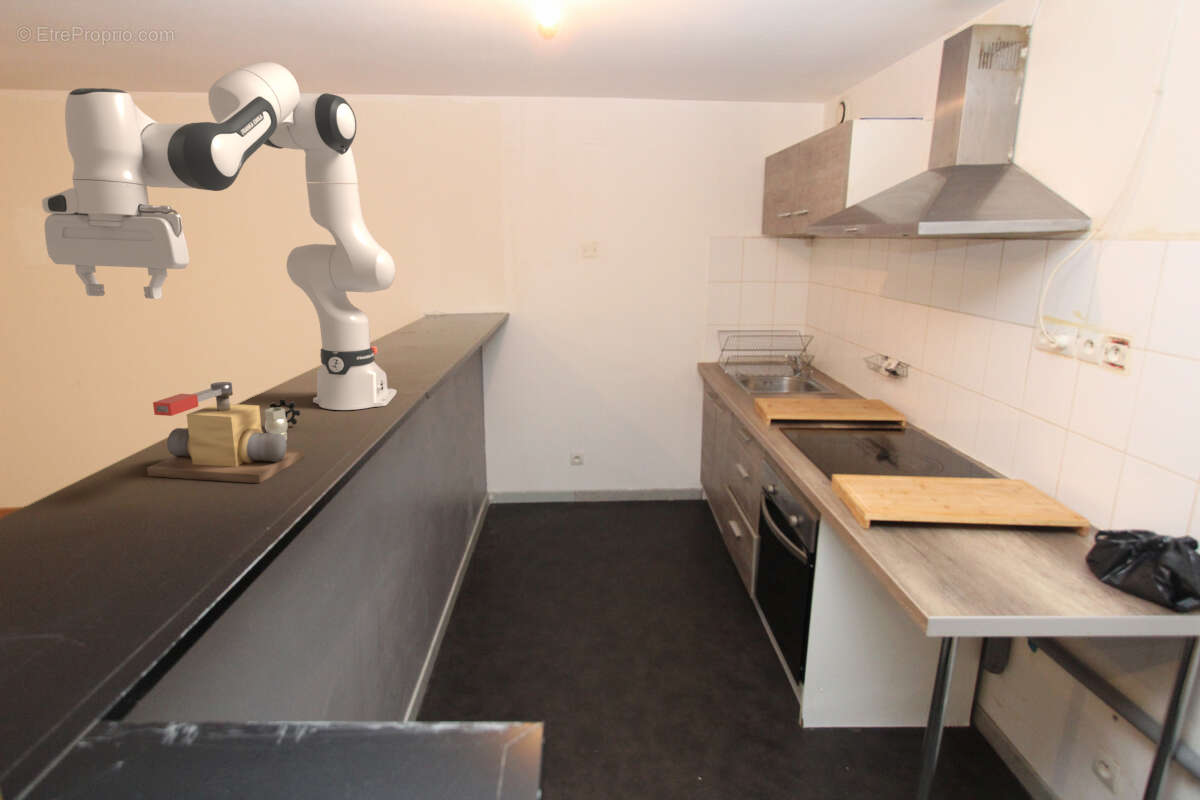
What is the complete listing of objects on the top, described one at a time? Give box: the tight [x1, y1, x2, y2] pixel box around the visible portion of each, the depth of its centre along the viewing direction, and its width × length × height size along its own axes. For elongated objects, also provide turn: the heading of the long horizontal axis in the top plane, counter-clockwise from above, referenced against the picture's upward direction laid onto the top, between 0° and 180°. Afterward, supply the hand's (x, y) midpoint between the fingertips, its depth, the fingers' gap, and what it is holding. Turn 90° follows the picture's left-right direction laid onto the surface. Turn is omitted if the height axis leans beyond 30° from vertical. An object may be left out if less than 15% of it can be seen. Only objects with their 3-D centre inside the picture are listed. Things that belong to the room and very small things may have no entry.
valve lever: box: [152, 381, 234, 417], centre depth 106 cm, size 16×3×2 cm, turn 175°
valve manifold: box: [146, 396, 305, 484], centre depth 114 cm, size 14×20×13 cm
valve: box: [264, 397, 301, 441], centre depth 134 cm, size 7×7×12 cm
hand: (124, 297), depth 99 cm, fingers open, 8 cm apart
